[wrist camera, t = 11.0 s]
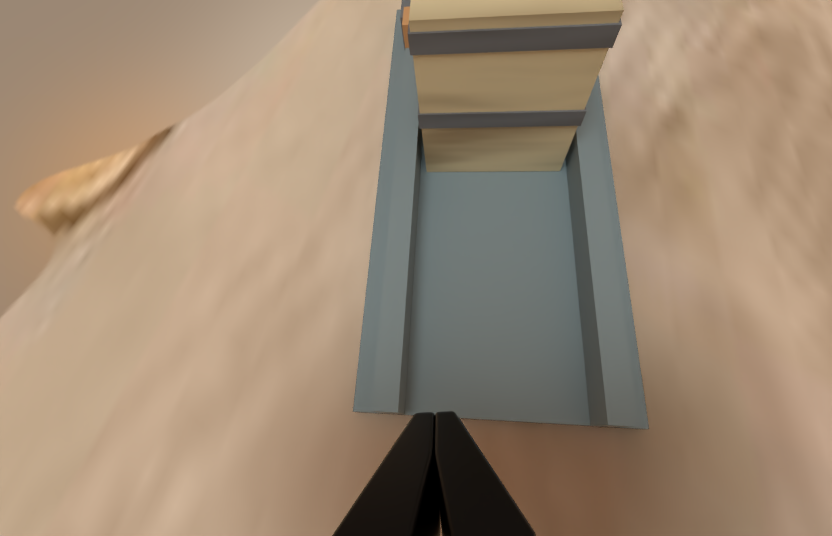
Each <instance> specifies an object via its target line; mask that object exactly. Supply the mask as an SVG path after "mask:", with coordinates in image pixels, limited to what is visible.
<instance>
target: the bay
mask: <svg viewBox="0 0 832 536" xmlns="http://www.w3.org/2000/svg"><path fill="white" fill-rule="evenodd" d="M410 2H411V0H402V5H401V10H397V15H396V24H395V33H394V43H393V52H392V61H391V70H390V79H389V88H388V97H387V106H386V115H385V124H384V134H383V143H382V152H381V161H380V170H379V179H378V188H377V197H376V206H375V216H374V225H373V234H372V243H371V252H370V261H369V270H368V279H367V288H366V297H365V307H364V316H363V325H362V334H361V343H360V352H359V361H358V370H357V379H356V388H355V398H354V407H353V412H365V413H382V414H398V415H414V414H416V413H419V412H433V413H434V414H436V413H437V412H441V411H454V412H455V413H456V414H457V416H458V417H459V418H465V419H482V420H498V421H515V422H532V423H549V424H565V425H582V426H599V427H615V428H632V429H649V425H648V418H647V411H646V404H645V397H644V390H643V383H642V376H641V369H640V362H639V355H638V348H637V341H636V334H635V327H634V320H633V313H632V307H631V300H630V293H629V286H628V279H627V272H626V265H625V258H624V251H623V244H622V237H621V230H620V223H619V216H618V209H617V202H616V195H615V188H614V181H613V174H612V167H611V160H610V153H609V146H608V139H607V132H606V125H605V118H604V111H603V104H602V97H601V90H600V83H599V76H597V79H596V81H595V84H594V86H593V89H592V91H591V94H590V96H589V99H588V102H587V104H586V110H587V112H586V114H585V116H584V119H583V121H582V124H581V126H578V127H577V129H576V132H575V134H574V137H573V139H572V142H571V144H570V147H569V150H568V152H567V155H566V157H565V160H564V162H563V165H562V167H561V170H560V171H501V172H427V171H426V162H425V154H424V145H423V137H422V129H419V122H418V104H419V103H418V94H417V86H416V78H415V69H414V61H413V55H410V50H409V42H408V23H409V13H410Z"/></svg>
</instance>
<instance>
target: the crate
mask: <svg viewBox="0 0 832 536" xmlns="http://www.w3.org/2000/svg"><path fill="white" fill-rule="evenodd" d="M623 11H624V10H623V4H622V0H411V2H410V13H409V23H408V42H409V50H410V55H413V61H414V69H415V78H416V86H417V94H418V103H419V104H418V122H419V129H422V137H423V145H424V154H425V162H426V171H427V172H501V171H560V170H561V167H562V165H563V162H564V160H565V157H566V155H567V152H568V150H569V147H570V144H571V142H572V139H573V137H574V134H575V132H576V129H577V127H578V126H581V124H582V121H583V119H584V116H585V114H586V112H587V110H586V104H587V102H588V99H589V96H590V94H591V91H592V89H593V86H594V84H595V81H596V79H597V76H598V74H599V71H600V69H601V66H602V64H603V61H604V59H605V56H606V54H607V51H608V48H612V47H613V45H614V42H615V40H616V37H617V35H618V33H619V30H620V28H621V25H622V23H621V16H622V13H623Z"/></svg>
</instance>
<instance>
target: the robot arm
mask: <svg viewBox="0 0 832 536" xmlns="http://www.w3.org/2000/svg"><path fill="white" fill-rule="evenodd" d="M440 518H441V528H442V536H536V534H535V532H534V530H533V529H532V527H531V526H530V524H529V523H528V521H527V520H526V518H525V517H524V515H523V514H522V512H521V511H520V509H519V508H518V506H517V505H516V503H515V502H514V500H513V499H512V497H511V496H510V494H509V493H508V491H507V490H506V488H505V487H504V485H503V484H502V482H501V481H500V479H499V478H498V476H497V474H496V473H495V471H494V470H493V468H492V467H491V465H490V464H489V462H488V461H487V459H486V458H485V456H484V455H483V453H482V452H481V450H480V449H479V447H478V446H477V444H476V443H475V441H474V440H473V438H472V437H471V435H470V434H469V432H468V431H467V429H466V428H465V426H464V425H463V423H462V422H461V420H460V419H459V417H458V416H457V414H456V413H455V412H454V411H441V412H437V413H436V414H434V413H433V412H419V413H416V414H414V416H413V417H412V419H411V420H410V422H409V423H408V425H407V426H406V428H405V429H404V430H403V432H402V433H401V435H400V436H399V438H398V439H397V441H396V442H395V444H394V445H393V447H392V448H391V450H390V451H389V453H388V454H387V456H386V457H385V459H384V460H383V462H382V463H381V464H380V466H379V467H378V469H377V470H376V472H375V473H374V475H373V476H372V478H371V479H370V481H369V482H368V484H367V485H366V487H365V488H364V490H363V491H362V493H361V494H360V496H359V497H358V498H357V500H356V501H355V503H354V504H353V506H352V507H351V509H350V510H349V512H348V513H347V515H346V516H345V518H344V519H343V521H342V522H341V524H340V525H339V527H338V528H337V530H336V531H335V532H334V534H333V535H332V536H440Z"/></svg>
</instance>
